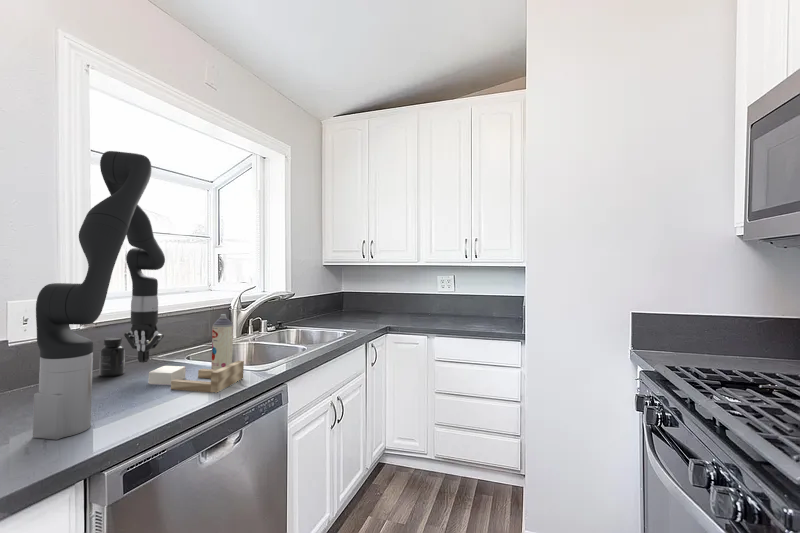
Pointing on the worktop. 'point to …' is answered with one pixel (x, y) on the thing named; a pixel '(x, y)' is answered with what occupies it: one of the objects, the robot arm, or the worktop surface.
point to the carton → (166, 374)
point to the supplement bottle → (112, 358)
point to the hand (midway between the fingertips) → (143, 361)
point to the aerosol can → (222, 342)
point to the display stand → (212, 379)
